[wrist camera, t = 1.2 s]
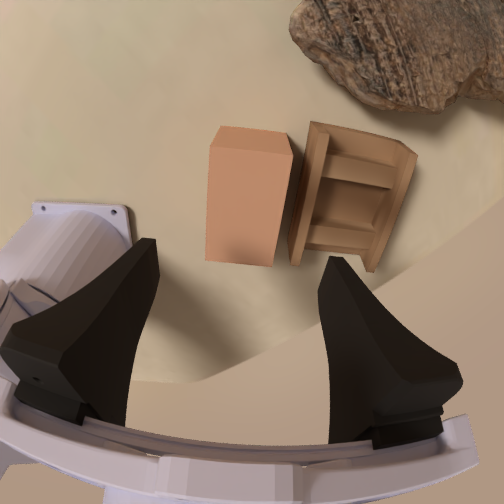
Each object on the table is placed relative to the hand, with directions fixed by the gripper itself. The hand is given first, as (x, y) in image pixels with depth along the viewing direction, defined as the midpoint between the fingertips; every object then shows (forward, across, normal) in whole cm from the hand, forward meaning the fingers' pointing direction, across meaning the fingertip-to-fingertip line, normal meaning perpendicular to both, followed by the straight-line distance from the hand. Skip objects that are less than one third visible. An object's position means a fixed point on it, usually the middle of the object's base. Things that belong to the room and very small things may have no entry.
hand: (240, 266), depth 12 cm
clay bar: (+9, 0, 0) cm, 9 cm away
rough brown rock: (+9, -10, -14) cm, 20 cm away
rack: (+9, -6, 0) cm, 11 cm away
